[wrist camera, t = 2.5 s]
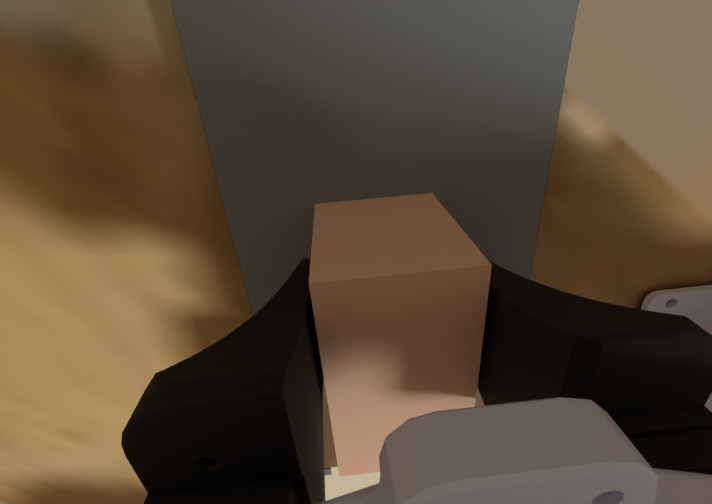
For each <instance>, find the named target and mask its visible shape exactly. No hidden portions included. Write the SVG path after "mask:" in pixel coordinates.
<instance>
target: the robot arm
mask: <svg viewBox="0 0 712 504" xmlns="http://www.w3.org/2000/svg"><path fill="white" fill-rule="evenodd" d="M310 261H311V258H307V259H302V260H301V261H300V263H299V264H298V265H297V267H296V268H295V270H294V271H293V272H292V274H291V275H290V276H289V278H288V279H287V280H286V282H285V283H284V284H283V285H282V287H281V288H280V289H279V290H278V292H277V293H276V294H275V295H274V296H273V297H272V298H271V299H270V300H269V301H268V303H267V304H266V305H265V306H264V307H262V308H261V309H260V310H259V311H258V312H257V313H256V314H255V315H253V316H252V317H251V318H250V319H249V320H248V321H246V322H245V323H244V324H242V325H241V326H239V327H238V328H237V329H235V330H234V331H233V332H231V333H230V334H228V335H227V336H226V337H224V338H223V339H221V340H219V341H218V342H216V343H215V344H213V345H211V346H210V347H208V348H206V349H204V350H203V351H201V352H199V353H197V354H195V355H193V356H192V357H190V358H188V359H186V360H183V361H181V362H179V363H177V364H175V365H173V366H171V367H169V368H167V369H165V370H163V371H160V372H158V373H156V374H155V375H154V377H153V379H152V380H151V382H150V383H149V385H148V386H147V388H146V390H145V391H144V393H143V395H142V397H141V399H140V401H139V403H138V405H137V406H136V408H135V410H134V412H133V414H132V416H131V418H130V419H129V421H128V423H127V425H126V427H125V429H124V431H123V432H122V444H121V445H122V448H123V450H124V453H125V456H126V457H127V459H128V461H129V462H130V464H131V466H132V467H133V469H134V471H135V472H136V474H137V476H138V477H139V479H140V481H141V482H142V484H143V486H144V487H145V489H146V491H147V492H148V495H147V497H146V500H145V502H144V504H712V285H705V286H695V287H686V288H677V289H667V290H658V291H654V292H651V293H650V294H648V295H647V296H646V297H645V299H644V301H643V304H642V306H641V309H640V310H639V309H633V308H628V307H623V306H618V305H613V304H608V303H604V302H599V301H595V300H591V299H587V298H583V297H580V296H576V295H573V294H569V293H566V292H562V291H559V290H556V289H553V288H550V287H548V286H545V285H542V284H539V283H537V282H534V281H531V280H529V279H527V278H524V277H522V276H520V275H518V274H515V273H513V272H511V271H509V270H507V269H505V268H503V267H500V266H499V265H497V264H495V263H493V262H491V261H489V260H488V261H489V262H490V263H491V265H492V268H491V277H490V285H489V293H488V302H487V310H486V319H485V327H484V335H483V344H482V352H481V361H480V369H479V377H478V386H477V387H478V389H479V392H480V395H481V397H482V400H483V403H484V405H485V406H478V407H469V408H460V409H452V410H443V411H434V412H431V413H427V414H424V415H421V416H417V417H414V418H410V419H408V420H406V421H405V422H404V423H403V424H401V425H400V426H399V427H398V428H396V429H395V430H394V431H392V432H391V433H390V434H389V435H388V436H387V437H386V438H385V440H384V443H383V446H382V449H381V452H380V455H379V466H380V480H379V483H377V484H374V485H372V486H369V487H366V488H363V489H360V490H357V491H354V492H351V493H348V494H345V495H342V496H339V497H336V498H333V499H330V500H327V501H325V472H324V435H323V383H324V376H323V370H322V364H321V358H320V351H319V345H318V339H317V333H316V326H315V320H314V314H313V307H312V301H311V295H310V289H309V274H310Z"/></svg>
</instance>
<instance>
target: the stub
mask: <svg viewBox="0 0 712 504" xmlns="http://www.w3.org/2000/svg"><path fill="white" fill-rule="evenodd" d="M491 268H492V265H491V263H490V262H489V261H488V260H487V259H486V257H485V256H484V255H483V254H482V253H481V251H480V250H479V249H478V248H477V247H476V245H475V244H474V243H473V242H472V241H471V239H470V238H469V237H468V236H467V234H466V233H465V232H464V231H463V230H462V228H461V227H460V226H459V225H458V224H457V222H456V221H455V220H454V219H453V218H452V216H451V215H450V214H449V213H448V212H447V210H446V209H445V208H444V207H443V205H442V204H441V203H440V202H439V201H438V199H437V198H436V197H435V196H434V195H433V193H425V194H414V195H404V196H393V197H383V198H372V199H362V200H351V201H341V202H330V203H320V204H315V210H314V223H313V235H312V248H311V261H310V274H309V289H310V295H311V301H312V307H313V314H314V320H315V326H316V333H317V339H318V345H319V351H320V358H321V364H322V370H323V376H324V383H325V389H326V395H327V401H328V408H329V414H330V420H331V426H332V433H333V439H334V445H335V451H336V458H337V464H338V470H339V476H348V475H357V474H365V473H373V472H380V466H379V455H380V452H381V449H382V446H383V443H384V440H385V438H386V437H387V436H388V435H389V434H390V433H391V432H392V431H394V430H395V429H396V428H398V427H399V426H400V425H401V424H403V423H404V422H405V421H406V420H408V419H410V418H414V417H417V416H421V415H424V414H427V413H431V412H434V411H443V410H452V409H460V408H469V407H475V403H476V394H477V386H478V377H479V369H480V361H481V352H482V344H483V335H484V327H485V319H486V310H487V302H488V293H489V285H490V277H491Z"/></svg>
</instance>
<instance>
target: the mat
mask: <svg viewBox="0 0 712 504" xmlns="http://www.w3.org/2000/svg"><path fill="white" fill-rule="evenodd" d="M171 4H172V8H173V12H174V16H175V20H176V23H177V27H178V31H179V35H180V39H181V43H182V47H183V50H184V54H185V58H186V62H187V66H188V70H189V74H190V77H191V81H192V85H193V89H194V93H195V97H196V100H197V104H198V108H199V112H200V116H201V120H202V124H203V127H204V131H205V135H206V139H207V143H208V147H209V151H210V154H211V158H212V162H213V166H214V170H215V174H216V178H217V181H218V185H219V189H220V193H221V197H222V201H223V205H224V208H225V212H226V216H227V220H228V224H229V228H230V232H231V235H232V239H233V243H234V247H235V251H236V255H237V258H238V262H239V266H240V270H241V274H242V278H243V282H244V285H245V289H246V293H247V297H248V301H249V305H250V309H251V312H252V316H253V315H255V314H256V313H257V312H258V311H259V310H260V309H261V308H262V307H264V306H265V305H266V304H267V303H268V301H269V300H270V299H271V298H272V297H273V296H274V295H275V294H276V293H277V292H278V290H279V289H280V288H281V287H282V285H283V284H284V283H285V282H286V280H287V279H288V278H289V276H290V275H291V274H292V272H293V271H294V270H295V268H296V267H297V265H298V264H299V263H300V261H301V260H302V259H307V258H311V248H312V235H313V223H314V210H315V204H320V203H330V202H341V201H351V200H362V199H372V198H383V197H393V196H404V195H414V194H425V193H433V195H434V196H435V197H436V198H437V199H438V201H439V202H440V203H441V204H442V205H443V207H444V208H445V209H446V210H447V212H448V213H449V214H450V215H451V216H452V218H453V219H454V220H455V221H456V222H457V224H458V225H459V226H460V227H461V228H462V230H463V231H464V232H465V233H466V234H467V236H468V237H469V238H470V239H471V241H472V242H473V243H474V244H475V245H476V247H477V248H478V249H479V250H480V251H481V253H482V254H483V255H484V256H485V257H486V259H487V260H489V261H491V262H493V263H495V264H497V265H499V266H500V267H503V268H505V269H507V270H509V271H511V272H513V273H515V274H518V275H520V276H522V277H524V278H527V279H529V278H530V272H531V267H532V261H533V255H534V250H535V244H536V239H537V233H538V227H539V222H540V216H541V211H542V205H543V199H544V194H545V188H546V183H547V177H548V171H549V166H550V160H551V155H552V149H553V144H554V138H555V132H556V127H557V121H558V116H559V110H560V104H561V99H562V93H563V88H564V82H565V76H566V71H567V65H568V59H569V54H570V48H571V43H572V37H573V32H574V26H575V20H576V15H577V9H578V4H579V0H171Z"/></svg>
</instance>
